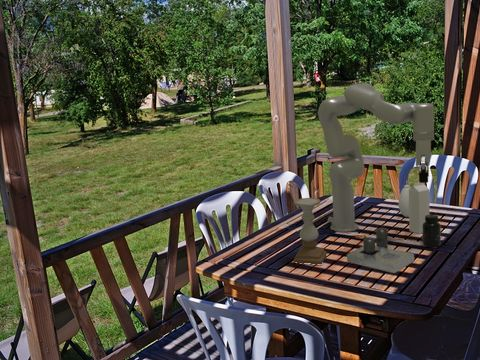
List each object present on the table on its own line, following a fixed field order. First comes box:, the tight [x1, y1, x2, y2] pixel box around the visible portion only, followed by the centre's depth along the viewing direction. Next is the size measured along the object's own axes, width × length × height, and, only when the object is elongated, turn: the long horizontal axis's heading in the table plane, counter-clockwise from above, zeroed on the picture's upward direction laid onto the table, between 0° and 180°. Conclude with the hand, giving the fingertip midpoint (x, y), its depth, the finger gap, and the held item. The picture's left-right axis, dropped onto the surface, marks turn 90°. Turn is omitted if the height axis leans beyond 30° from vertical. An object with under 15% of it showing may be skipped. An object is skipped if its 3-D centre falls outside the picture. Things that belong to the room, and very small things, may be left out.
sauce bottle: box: [398, 180, 411, 218], centre depth 248 cm, size 8×8×18 cm
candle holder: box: [293, 197, 328, 265], centre depth 203 cm, size 11×11×24 cm
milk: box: [408, 181, 430, 235], centre depth 226 cm, size 6×6×22 cm
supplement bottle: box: [422, 214, 442, 248], centre depth 209 cm, size 7×7×12 cm
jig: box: [346, 237, 415, 274], centre depth 197 cm, size 20×14×8 cm
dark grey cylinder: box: [375, 227, 389, 249], centre depth 210 cm, size 4×4×8 cm
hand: (424, 179), depth 203 cm, fingers open, 9 cm apart
